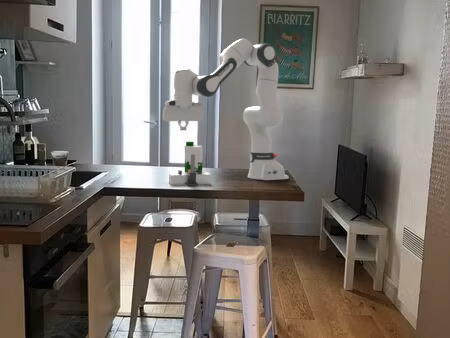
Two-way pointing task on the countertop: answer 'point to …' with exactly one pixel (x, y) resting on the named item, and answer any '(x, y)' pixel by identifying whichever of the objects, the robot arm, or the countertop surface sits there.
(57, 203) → the countertop surface
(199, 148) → the soya milk
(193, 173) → the grey stepped post
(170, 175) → the breaker box
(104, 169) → the countertop surface
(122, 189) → the countertop surface
